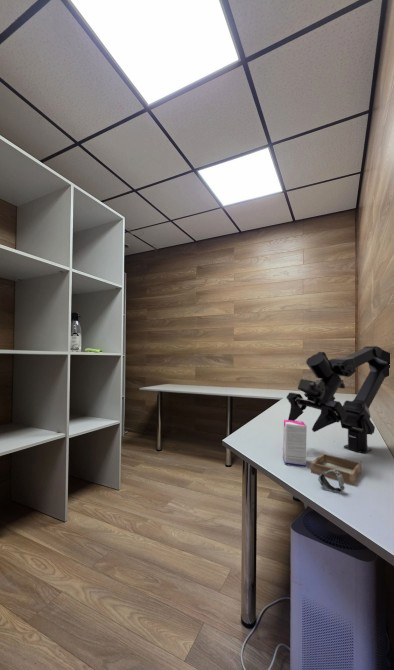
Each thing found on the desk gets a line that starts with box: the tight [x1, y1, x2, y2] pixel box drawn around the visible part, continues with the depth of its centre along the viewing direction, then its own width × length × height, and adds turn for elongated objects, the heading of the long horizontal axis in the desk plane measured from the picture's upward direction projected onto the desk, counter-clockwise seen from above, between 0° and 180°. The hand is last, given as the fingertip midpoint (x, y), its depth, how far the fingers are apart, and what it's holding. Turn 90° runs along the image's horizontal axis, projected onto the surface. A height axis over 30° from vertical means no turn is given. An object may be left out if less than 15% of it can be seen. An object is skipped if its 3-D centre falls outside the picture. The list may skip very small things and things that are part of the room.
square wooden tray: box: [310, 453, 362, 486], centre depth 72 cm, size 10×10×2 cm
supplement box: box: [282, 419, 308, 468], centre depth 79 cm, size 6×6×12 cm
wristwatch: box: [317, 469, 346, 494], centre depth 63 cm, size 3×5×5 cm
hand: (300, 426), depth 80 cm, fingers open, 9 cm apart
